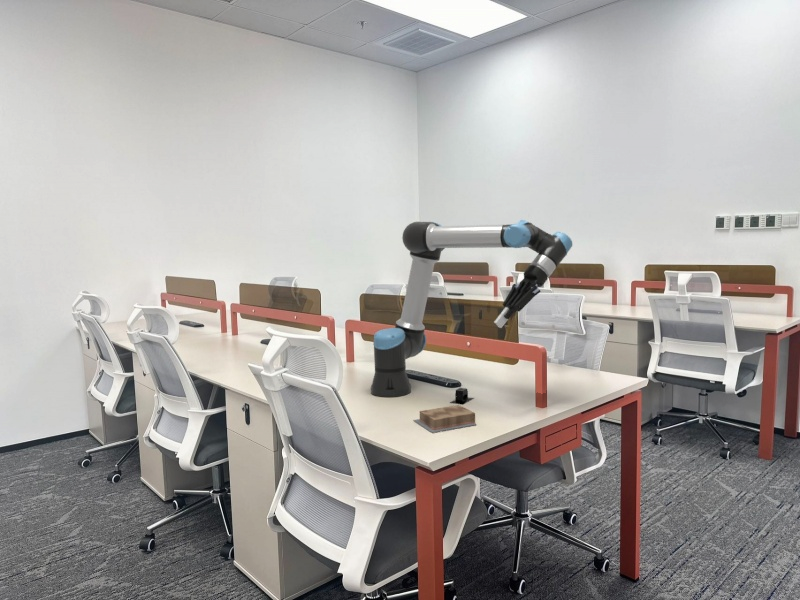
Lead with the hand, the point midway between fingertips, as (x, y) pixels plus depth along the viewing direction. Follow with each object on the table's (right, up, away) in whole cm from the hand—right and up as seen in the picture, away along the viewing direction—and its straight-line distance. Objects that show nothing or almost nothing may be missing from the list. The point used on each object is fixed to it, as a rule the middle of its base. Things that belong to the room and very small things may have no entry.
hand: (497, 325), depth 181 cm
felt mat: (-18, -30, -10) cm, 36 cm away
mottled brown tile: (-11, -27, -7) cm, 30 cm away
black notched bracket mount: (-10, -28, +14) cm, 33 cm away
